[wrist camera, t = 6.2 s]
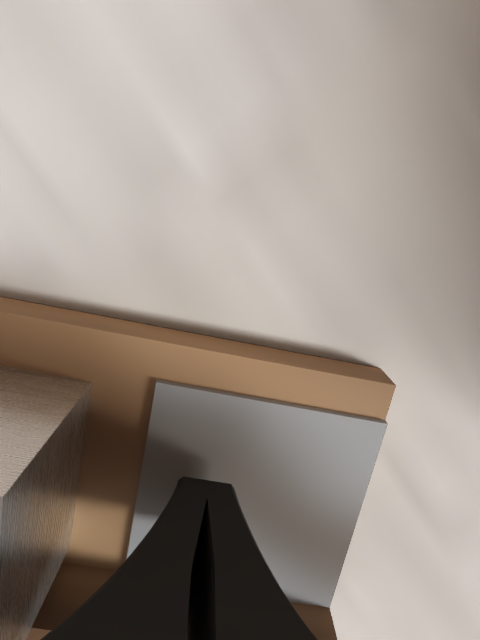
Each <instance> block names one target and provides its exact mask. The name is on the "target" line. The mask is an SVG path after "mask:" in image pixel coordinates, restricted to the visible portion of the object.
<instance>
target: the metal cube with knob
mask: <svg viewBox="0 0 480 640" xmlns="http://www.w3.org/2000/svg"><path fill="white" fill-rule="evenodd" d="M91 388H92V382H87V381H82V380H77V379H71V378H66V377H60V376H55V375H49V374H44V373H38V372H33V371H28V370H22V369H17V368H11V367H6V366H0V640H26V638H27V636H28V634H29V632H30V630H31V627H32V625H33V623H34V621H35V619H36V617H37V615H38V613H39V610H40V608H41V606H42V604H43V602H44V600H45V598H46V596H47V593H48V591H49V589H50V587H51V585H52V583H53V581H54V579H55V576H56V574H57V572H58V570H59V568H60V566H61V564H62V562H63V560H64V557H65V555H66V553H67V551H68V549H69V547H70V543H71V535H72V528H73V520H74V513H75V506H76V498H77V491H78V484H79V476H80V469H81V462H82V454H83V447H84V439H85V432H86V425H87V417H88V410H89V403H90V395H91Z"/></svg>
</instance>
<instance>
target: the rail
mask: <svg viewBox="0 0 480 640" xmlns="http://www.w3.org/2000/svg"><path fill="white" fill-rule="evenodd" d="M0 366H6V367H11V368H17V369H22V370H28V371H33V372H38V373H44V374H49V375H55V376H60V377H66V378H71V379H77V380H82V381H87V382H92V388H91V395H90V403H89V410H88V417H87V425H86V432H85V439H84V447H83V454H82V462H81V469H80V476H79V484H78V491H77V498H76V506H75V513H74V520H73V528H72V535H71V543H70V547H69V549H68V551H67V553H66V555H65V557H64V560H63V562H62V564H61V566H60V568H59V570H58V572H57V574H56V576H55V579H54V581H53V583H52V585H51V587H50V589H49V591H48V593H47V596H46V598H45V600H44V602H43V604H42V606H41V608H40V610H39V613H38V615H37V617H36V619H35V621H34V623H33V625H32V627H31V630H30V632H29V634H28V636H27V638H26V640H40V639H42V638H43V637H44V636H45V635H47V634H48V633H49V632H50V631H52V630H53V629H54V628H55V627H57V626H58V625H59V624H60V623H62V622H63V621H64V620H65V619H67V618H68V617H69V616H70V615H71V614H72V613H73V612H75V611H76V610H77V609H78V608H79V607H80V606H81V605H82V604H83V603H84V602H85V601H87V600H88V599H89V598H90V597H91V596H92V595H93V594H94V593H95V592H96V591H97V590H98V589H99V588H100V587H101V586H102V585H103V584H104V583H105V582H106V581H107V580H108V579H109V578H110V577H111V576H112V575H113V574H114V573H115V572H116V571H117V570H118V568H119V567H120V566H121V565H122V564H123V563H124V562H125V561H126V559H127V558H128V557H129V556H130V555H131V554H132V552H133V551H134V550H135V549H136V547H137V546H138V545H139V543H140V542H141V541H142V540H143V538H144V537H145V536H146V535H147V533H148V532H149V531H150V529H151V528H152V526H153V525H154V523H155V522H156V520H157V519H158V518H159V516H160V515H161V513H162V512H163V510H164V509H165V507H166V505H167V503H168V502H169V500H170V498H171V496H172V495H173V493H174V490H175V488H176V486H177V483H178V480H179V479H180V478H182V477H191V478H197V479H203V480H210V481H216V482H222V483H229V484H232V486H233V487H234V489H235V492H236V496H237V499H238V501H239V504H240V507H241V509H242V512H243V514H244V517H245V519H246V522H247V524H248V526H249V529H250V531H251V533H252V535H253V537H254V539H255V541H256V543H257V545H258V547H259V550H260V552H261V553H262V555H263V557H264V559H265V561H266V563H267V565H268V566H269V568H270V570H271V572H272V574H273V575H274V577H275V579H276V581H277V582H278V584H279V586H280V587H281V589H282V590H283V592H284V594H285V595H286V597H287V598H288V600H289V601H290V603H291V604H292V606H293V607H294V609H295V610H296V612H297V613H298V615H299V616H300V617H301V619H302V620H303V621H304V623H305V624H306V625H307V627H308V628H309V630H310V631H311V632H312V633H313V635H314V636H315V637H316V638H317V640H337V637H336V633H335V629H334V625H333V621H332V616H331V612H330V604H331V601H332V598H333V595H334V592H335V589H336V585H337V582H338V579H339V576H340V573H341V570H342V566H343V563H344V560H345V557H346V554H347V551H348V547H349V544H350V541H351V538H352V535H353V532H354V529H355V525H356V522H357V519H358V516H359V513H360V510H361V506H362V503H363V500H364V497H365V494H366V491H367V487H368V484H369V481H370V478H371V475H372V472H373V468H374V465H375V462H376V459H377V456H378V453H379V450H380V446H381V443H382V440H383V437H384V434H385V431H386V427H387V422H386V421H385V419H386V415H387V412H388V409H389V406H390V403H391V400H392V396H393V393H394V390H395V387H396V385H395V384H394V383H393V382H392V381H391V379H390V378H389V377H388V376H387V375H386V374H385V373H384V372H383V371H382V370H381V369H380V368H375V367H370V366H364V365H359V364H354V363H348V362H343V361H338V360H333V359H327V358H322V357H317V356H311V355H306V354H301V353H296V352H290V351H285V350H280V349H274V348H269V347H264V346H259V345H253V344H248V343H243V342H237V341H232V340H227V339H221V338H216V337H211V336H206V335H200V334H195V333H190V332H184V331H179V330H174V329H169V328H163V327H158V326H153V325H147V324H142V323H137V322H132V321H126V320H121V319H116V318H110V317H105V316H100V315H94V314H89V313H84V312H79V311H73V310H68V309H63V308H57V307H52V306H47V305H42V304H36V303H31V302H26V301H20V300H15V299H10V298H5V297H0ZM186 640H187V635H186Z"/></svg>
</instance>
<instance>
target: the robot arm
mask: <svg viewBox="0 0 480 640" xmlns="http://www.w3.org/2000/svg"><path fill="white" fill-rule="evenodd" d="M186 635H187V640H317V638H316V637H315V636H314V635H313V633H312V632H311V631H310V630H309V628H308V627H307V625H306V624H305V623H304V621H303V620H302V619H301V617H300V616H299V615H298V613H297V612H296V610H295V609H294V607H293V606H292V604H291V603H290V601H289V600H288V598H287V597H286V595H285V594H284V592H283V590H282V589H281V587H280V586H279V584H278V582H277V581H276V579H275V577H274V575H273V574H272V572H271V570H270V568H269V566H268V565H267V563H266V561H265V559H264V557H263V555H262V553H261V552H260V550H259V547H258V545H257V543H256V541H255V539H254V537H253V535H252V533H251V531H250V529H249V526H248V524H247V522H246V519H245V517H244V514H243V512H242V509H241V507H240V504H239V501H238V499H237V496H236V492H235V489H234V487H233V486H232V484H229V483H222V482H216V481H210V480H203V479H197V478H191V477H182V478H180V479H179V480H178V483H177V486H176V488H175V490H174V493H173V495H172V496H171V498H170V500H169V502H168V503H167V505H166V507H165V509H164V510H163V512H162V513H161V515H160V516H159V518H158V519H157V520H156V522H155V523H154V525H153V526H152V528H151V529H150V531H149V532H148V533H147V535H146V536H145V537H144V538H143V540H142V541H141V542H140V543H139V545H138V546H137V547H136V549H135V550H134V551H133V552H132V554H131V555H130V556H129V557H128V558H127V559H126V561H125V562H124V563H123V564H122V565H121V566H120V567H119V568H118V570H117V571H116V572H115V573H114V574H113V575H112V576H111V577H110V578H109V579H108V580H107V581H106V582H105V583H104V584H103V585H102V586H101V587H100V588H99V589H98V590H97V591H96V592H95V593H94V594H93V595H92V596H91V597H90V598H89V599H88V600H87V601H85V602H84V603H83V604H82V605H81V606H80V607H79V608H78V609H77V610H76V611H75V612H73V613H72V614H71V615H70V616H69V617H68V618H67V619H65V620H64V621H63V622H62V623H60V624H59V625H58V626H57V627H55V628H54V629H53V630H52V631H50V632H49V633H48V634H47V635H45V636H44V637H43V638H42V639H40V640H186Z"/></svg>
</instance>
